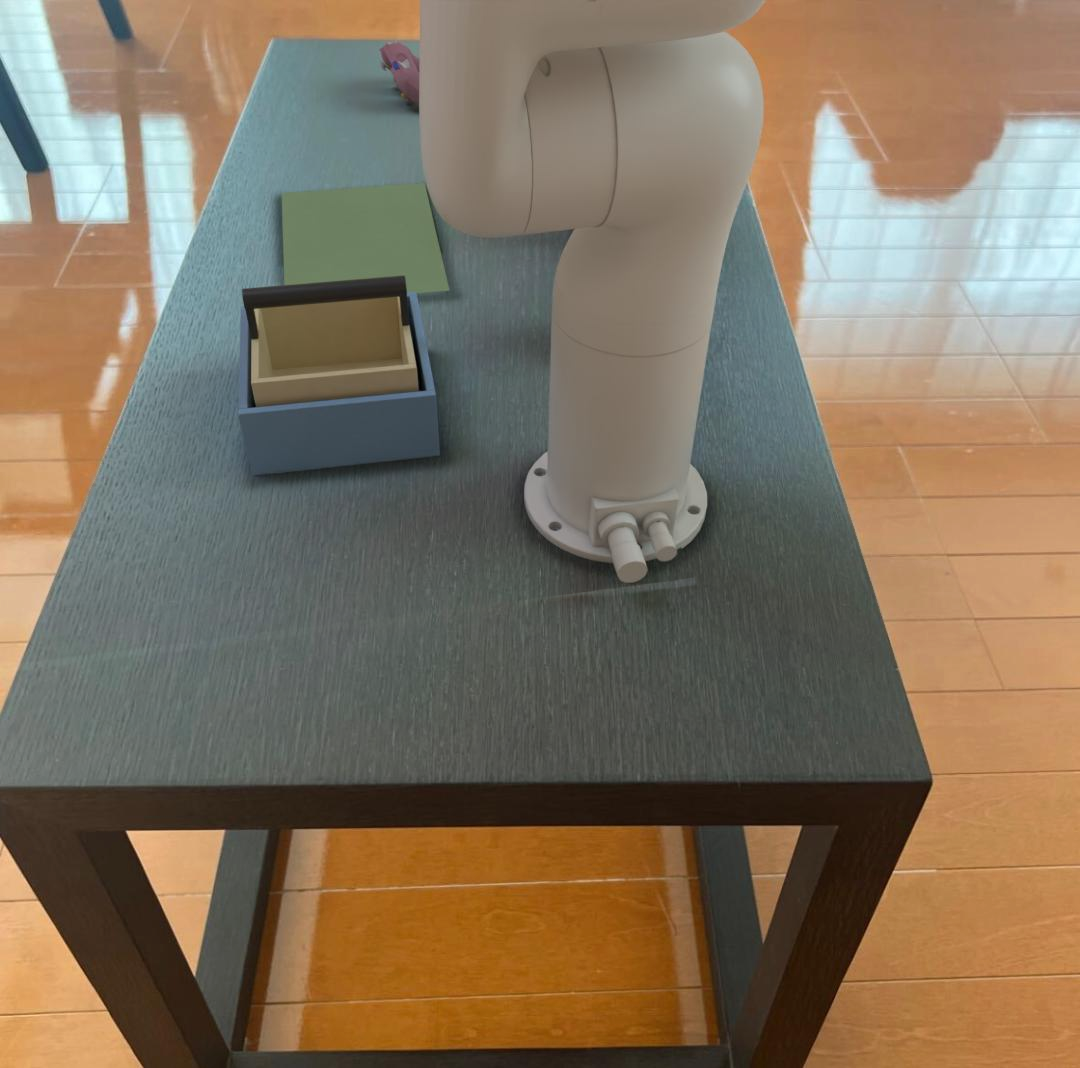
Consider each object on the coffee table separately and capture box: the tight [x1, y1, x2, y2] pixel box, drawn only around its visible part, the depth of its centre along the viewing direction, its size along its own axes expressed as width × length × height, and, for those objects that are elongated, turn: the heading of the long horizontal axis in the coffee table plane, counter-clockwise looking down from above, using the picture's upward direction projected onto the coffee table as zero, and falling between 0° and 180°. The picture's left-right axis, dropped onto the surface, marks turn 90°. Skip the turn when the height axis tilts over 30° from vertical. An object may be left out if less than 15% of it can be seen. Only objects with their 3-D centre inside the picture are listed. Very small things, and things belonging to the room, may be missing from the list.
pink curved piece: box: [379, 38, 420, 105], centre depth 120 cm, size 10×5×7 cm, turn 17°
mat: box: [281, 182, 451, 295], centre depth 99 cm, size 20×14×1 cm
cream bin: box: [241, 276, 419, 407], centre depth 77 cm, size 11×11×11 cm
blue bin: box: [237, 292, 441, 476], centre depth 79 cm, size 13×13×6 cm
